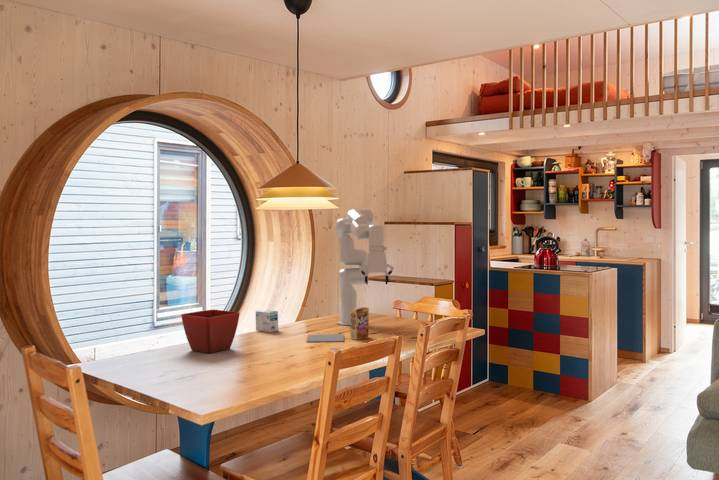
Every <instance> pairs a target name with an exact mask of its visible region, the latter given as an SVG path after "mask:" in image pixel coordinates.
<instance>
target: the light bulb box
mask: <svg viewBox="0 0 719 480" xmlns="http://www.w3.org/2000/svg"><path fill="white" fill-rule="evenodd" d="M278 313H279V310H271V309H259V310H256V311H255V331H258V332H264V333H273V332H278V331H279V314H278Z"/></svg>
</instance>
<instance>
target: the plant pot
mask: <svg viewBox="0 0 719 480" xmlns="http://www.w3.org/2000/svg"><path fill="white" fill-rule="evenodd" d="M180 316H181V321H182V326H183V330H184V333H185V336H186V340H187V343H188V345H189V347H190V349H191V351H194V352H195V351H196V352H199V353H205V354H206V353H207V354H212V353H216V352H221V351H227V350H230V349H231V346H232V344H233V341H234V339H235V337H236V332H237V329H238V326H239V325H238V324H239V319H240V312H238V311H231V310H222V309H209V310H208V309H206V310H201V311H193V312H188V313H182V314H180Z"/></svg>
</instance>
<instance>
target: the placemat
mask: <svg viewBox="0 0 719 480" xmlns="http://www.w3.org/2000/svg"><path fill="white" fill-rule="evenodd" d="M344 338H345V335H344V334H342V333H341V334H308V336H307V338H306V343H343V342H345V339H344Z"/></svg>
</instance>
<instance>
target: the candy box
mask: <svg viewBox="0 0 719 480" xmlns="http://www.w3.org/2000/svg"><path fill="white" fill-rule="evenodd" d="M369 310H370V309H369V307H367V306H362V307H361V306H360V307H357V308H352V309H351V325H350V340H354V341H357V340H361V339H367V338H369V323H370V322H369V318H370V317H369V316H370V315H369V312H370V311H369Z"/></svg>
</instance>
